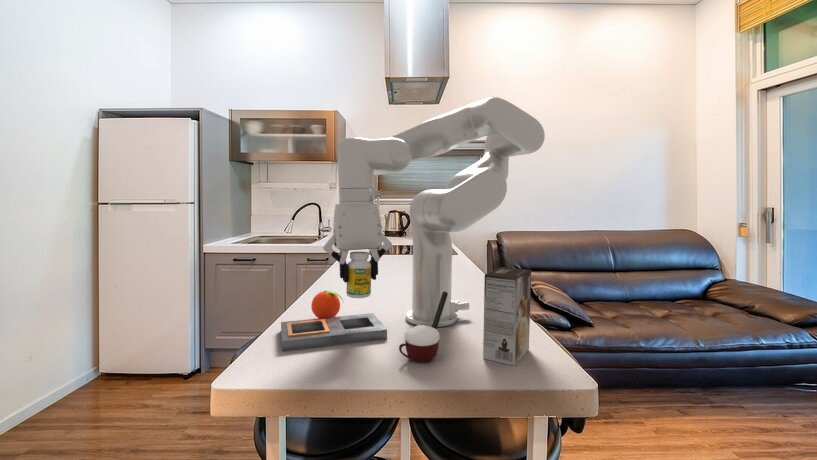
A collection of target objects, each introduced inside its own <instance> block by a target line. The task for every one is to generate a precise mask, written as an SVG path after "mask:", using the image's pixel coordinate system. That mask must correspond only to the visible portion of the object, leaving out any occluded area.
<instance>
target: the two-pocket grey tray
mask: <svg viewBox="0 0 817 460" xmlns="http://www.w3.org/2000/svg"><path fill="white" fill-rule="evenodd" d="M280 335H281V350H282V352H288V351H289V352H290V351H296V350H297V351H298V350H304V349H314V348H320V347H323V348H324V347H328V346H329V347H330V346H337V345H347V344H354V343H356V344H357V343H362V342H363V343H364V342H369V341H370V342H371V341H379V340H386V339H388V329H387V327H385V325H384V324H383V323H382V322H381V321H380V319H379V318H378V317H377V316H376V314H374V312H373V313H372V312H371V313H362V314H352V315H341V316H335V317H328V318H310V319H301V320H300V319H298V320H289V321H281V322H280Z"/></svg>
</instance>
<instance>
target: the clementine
mask: <svg viewBox="0 0 817 460" xmlns="http://www.w3.org/2000/svg"><path fill="white" fill-rule="evenodd" d="M340 299H341V300H340ZM341 301H342V302H343V303H344V300H343V297H341V295H340V294H338V293H337V292H335V291H331V290H324V291H320V292H318V293H317V294H315V296H314V297H313V299H312V301H311V306H310V308H311V311H312V313H313V315H314V316H315V318H316V319H318V318H328V317H337V315H338V313H339V312H340V309H341Z"/></svg>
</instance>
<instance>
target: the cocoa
mask: <svg viewBox="0 0 817 460" xmlns="http://www.w3.org/2000/svg"><path fill="white" fill-rule="evenodd" d="M447 296H448V293H447V292H445V291H444V292H443V293H442V296H441V299H440V302H439V305H438V308H437V312H436V315H435V318H434V321H433V324H432V327H430V326H425V325H415V326H413V327H411V328H409V329H407V330H406V331H405V333H404V337H405V341H404V343H401V344H400V345H399V347H398V351H399V353H400V354H401V355H402V356H404V357H405V358H407V359H410V360H412V361H414V362H416V363H422V364H423V363H424V364H425V363H428V362H431V361H433V359H435V358H436V356H437V354H438V352H439V347H440V346H439V344H440V343H439V342H440V332H439V331H438V328H439V327H438V324H439V321H440V317H441V314H442V311H443V308H444V305H445V302H446V299H447ZM403 347H405V350H406V353H404V352H403V350H402V348H403Z"/></svg>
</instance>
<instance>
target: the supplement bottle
mask: <svg viewBox="0 0 817 460" xmlns="http://www.w3.org/2000/svg"><path fill="white" fill-rule="evenodd" d="M369 256H370V253H369V251H368V252H367V251H363V250H353V251H351V252H350V253H349V258H350V261H348V262H347V264H348V282H346V296H347V297H349V298H350V299H351V298H352V299H365V298H369V297H370V296H371V294H372V278H371V263H370V262H369V261H370V260H369Z"/></svg>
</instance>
